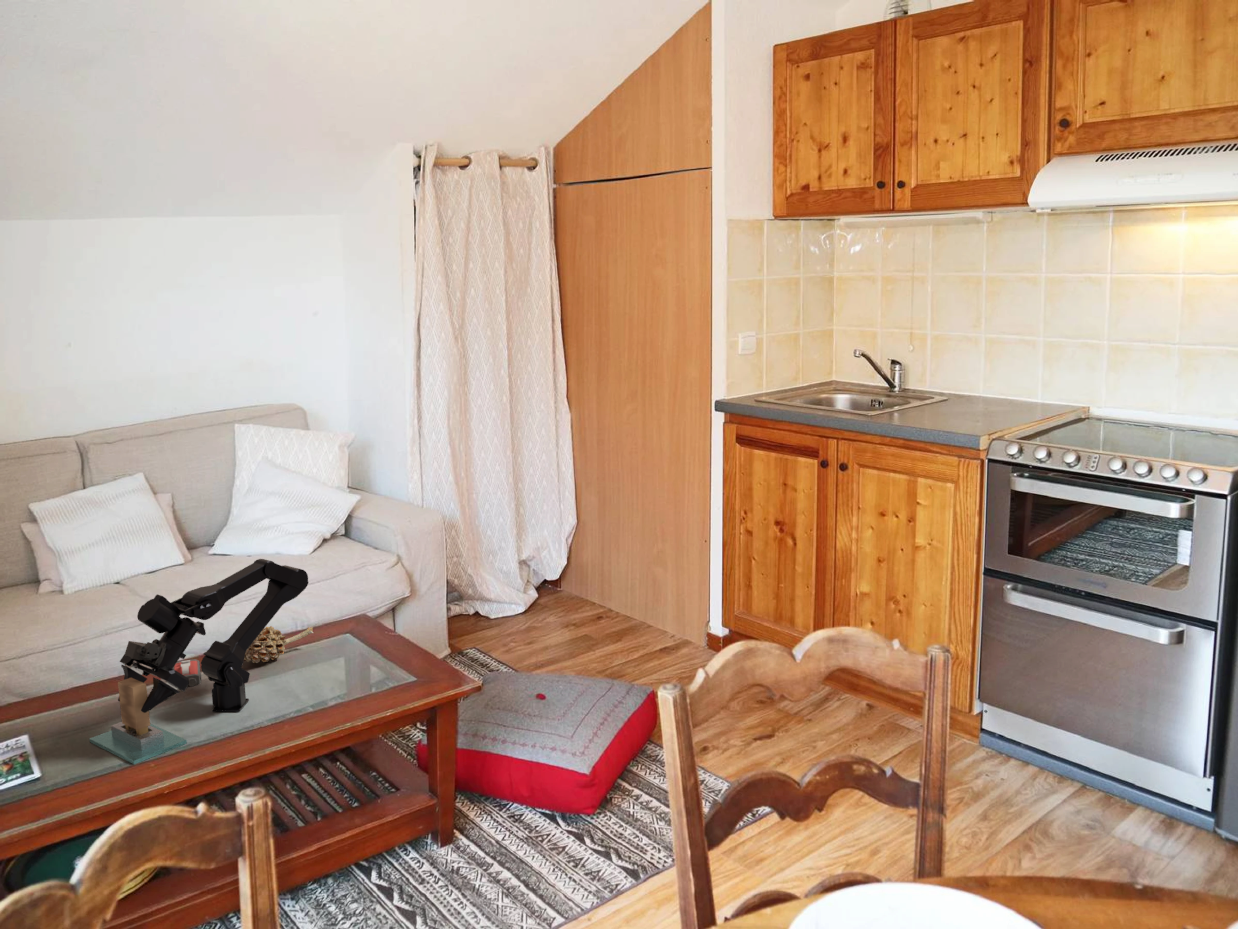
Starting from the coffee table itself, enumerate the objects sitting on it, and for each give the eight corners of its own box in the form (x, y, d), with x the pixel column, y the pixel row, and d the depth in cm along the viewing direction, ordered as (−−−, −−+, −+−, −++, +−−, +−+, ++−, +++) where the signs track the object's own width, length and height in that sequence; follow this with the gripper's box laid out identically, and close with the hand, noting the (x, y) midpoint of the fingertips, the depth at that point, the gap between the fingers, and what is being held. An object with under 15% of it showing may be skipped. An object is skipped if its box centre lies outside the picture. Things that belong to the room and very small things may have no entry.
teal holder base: (89, 742, 234) (88, 728, 233) (141, 722, 243) (140, 709, 242) (134, 764, 223) (132, 749, 222) (186, 743, 232) (185, 729, 232)
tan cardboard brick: (123, 738, 233) (117, 682, 231) (136, 733, 236) (131, 677, 233) (138, 745, 230) (132, 688, 227) (151, 740, 232) (146, 683, 230)
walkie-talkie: (164, 673, 273) (162, 703, 255) (162, 656, 272) (160, 685, 254) (201, 668, 276) (202, 697, 258) (199, 651, 275) (200, 680, 257)
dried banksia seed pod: (249, 674, 270) (246, 637, 268) (228, 666, 276) (225, 629, 274) (323, 650, 287) (321, 614, 285) (302, 642, 293) (300, 607, 291)
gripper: (123, 617, 237) (79, 680, 231) (170, 634, 226) (126, 701, 220) (160, 641, 245) (119, 702, 238) (207, 658, 234) (165, 723, 227)
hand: (131, 706), depth 231 cm, fingers open, 9 cm apart
